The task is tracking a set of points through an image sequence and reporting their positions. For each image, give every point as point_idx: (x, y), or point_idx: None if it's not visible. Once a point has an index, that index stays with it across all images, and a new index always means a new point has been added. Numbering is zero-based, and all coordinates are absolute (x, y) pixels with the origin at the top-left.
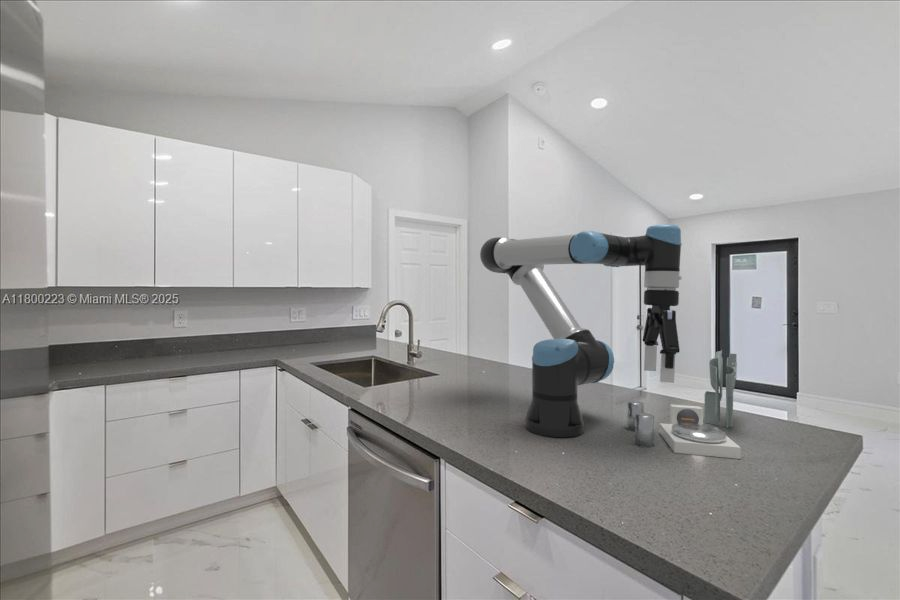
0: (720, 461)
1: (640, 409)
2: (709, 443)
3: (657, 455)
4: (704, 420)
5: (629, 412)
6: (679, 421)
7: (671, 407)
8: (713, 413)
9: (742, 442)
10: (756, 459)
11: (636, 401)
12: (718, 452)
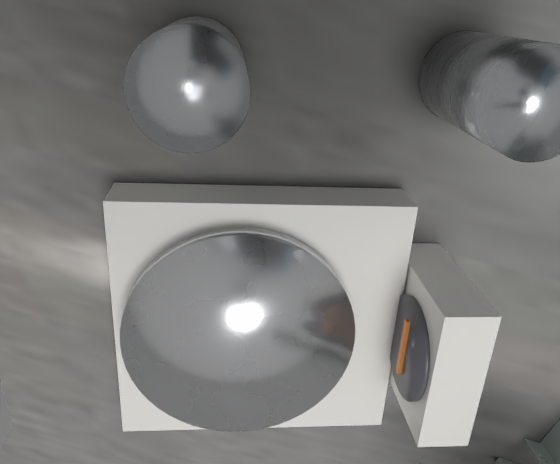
0: (75, 328)
1: (471, 122)
2: None
3: (42, 91)
4: None
5: (488, 47)
6: (405, 303)
7: (464, 311)
8: None
9: (330, 455)
10: (148, 440)
11: None
12: None
